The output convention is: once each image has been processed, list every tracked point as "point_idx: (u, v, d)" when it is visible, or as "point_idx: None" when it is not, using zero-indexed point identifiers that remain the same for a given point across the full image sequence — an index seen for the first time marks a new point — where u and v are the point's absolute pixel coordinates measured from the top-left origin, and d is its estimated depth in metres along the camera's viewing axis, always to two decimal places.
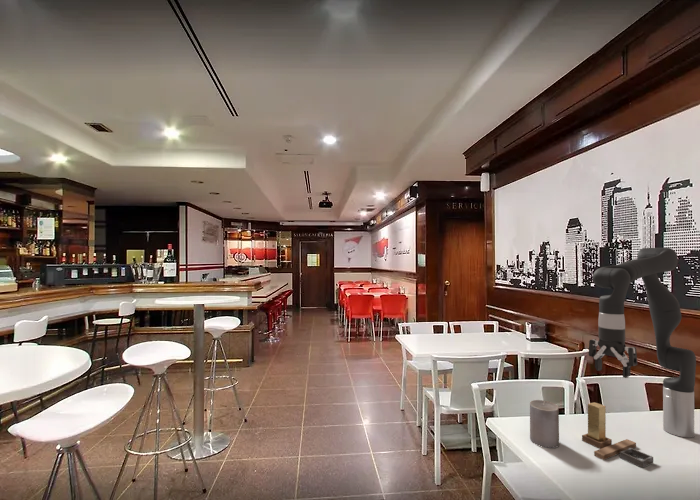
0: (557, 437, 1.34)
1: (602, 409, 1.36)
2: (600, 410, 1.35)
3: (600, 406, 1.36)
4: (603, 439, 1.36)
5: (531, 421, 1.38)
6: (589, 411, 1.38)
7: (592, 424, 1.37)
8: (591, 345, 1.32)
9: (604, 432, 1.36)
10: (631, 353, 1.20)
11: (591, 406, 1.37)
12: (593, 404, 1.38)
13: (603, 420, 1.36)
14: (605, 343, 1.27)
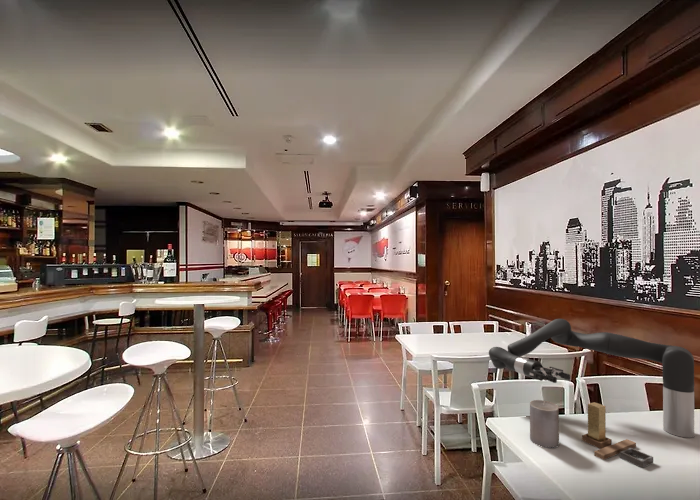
0: (557, 437, 1.34)
1: (602, 409, 1.36)
2: (600, 410, 1.35)
3: (600, 406, 1.36)
4: (603, 439, 1.36)
5: (531, 421, 1.38)
6: (589, 411, 1.38)
7: (592, 424, 1.37)
8: None
9: (604, 432, 1.36)
10: None
11: (591, 406, 1.37)
12: (593, 404, 1.38)
13: (603, 420, 1.36)
14: None
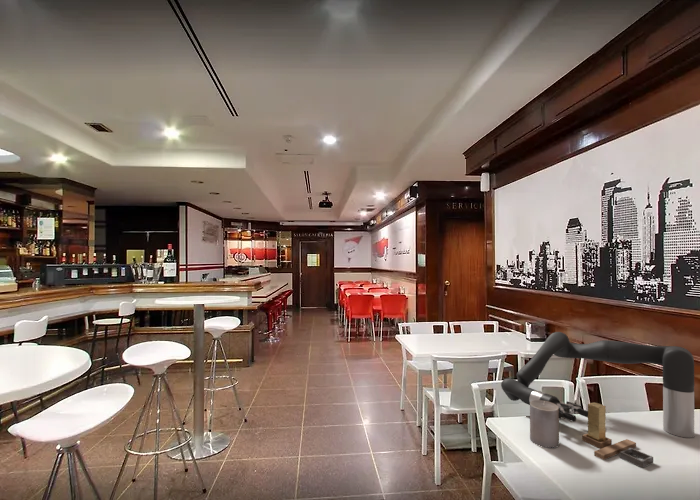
0: (557, 437, 1.34)
1: (602, 409, 1.36)
2: (600, 410, 1.35)
3: (600, 406, 1.36)
4: (603, 439, 1.36)
5: (531, 421, 1.38)
6: (589, 411, 1.38)
7: (592, 424, 1.37)
8: None
9: (604, 432, 1.36)
10: None
11: (591, 406, 1.37)
12: (593, 404, 1.38)
13: (603, 420, 1.36)
14: None
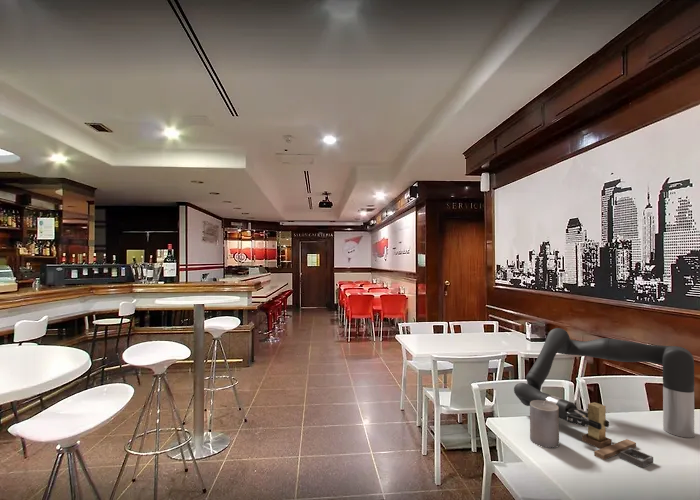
0: (557, 437, 1.34)
1: (602, 409, 1.36)
2: (600, 410, 1.35)
3: (600, 406, 1.36)
4: (603, 439, 1.36)
5: (531, 421, 1.38)
6: (589, 411, 1.38)
7: None
8: None
9: (604, 431, 1.36)
10: None
11: (591, 406, 1.37)
12: (593, 404, 1.38)
13: (603, 420, 1.36)
14: None
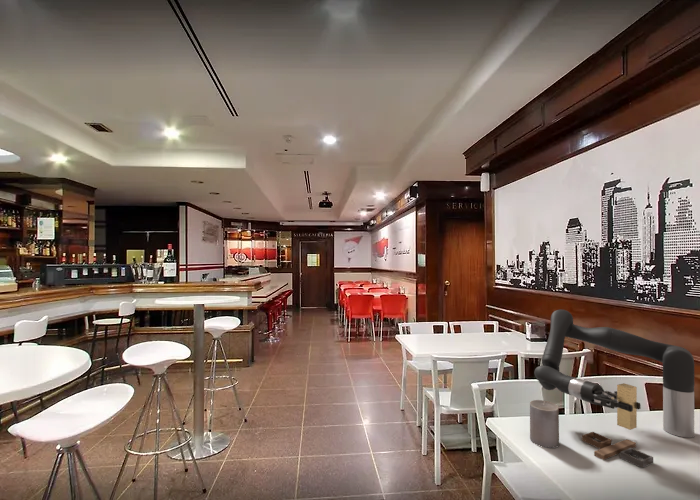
0: (557, 437, 1.34)
1: (633, 390, 1.27)
2: (631, 391, 1.26)
3: (631, 387, 1.27)
4: (634, 422, 1.27)
5: (531, 421, 1.38)
6: (619, 392, 1.29)
7: None
8: None
9: (635, 414, 1.27)
10: None
11: (621, 387, 1.28)
12: (623, 385, 1.29)
13: (634, 402, 1.27)
14: None
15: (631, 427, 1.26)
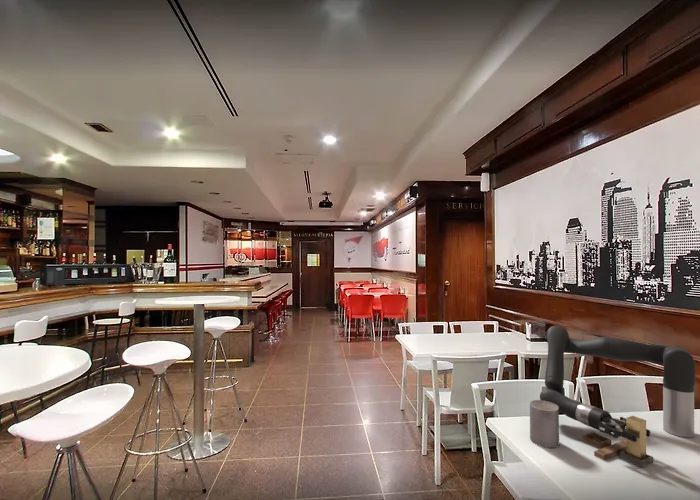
0: (557, 437, 1.34)
1: (643, 424, 1.24)
2: (641, 425, 1.24)
3: (640, 420, 1.25)
4: (644, 456, 1.24)
5: (531, 421, 1.38)
6: (628, 426, 1.26)
7: None
8: None
9: (644, 448, 1.25)
10: None
11: (630, 420, 1.26)
12: (632, 418, 1.26)
13: (643, 436, 1.24)
14: None
15: None
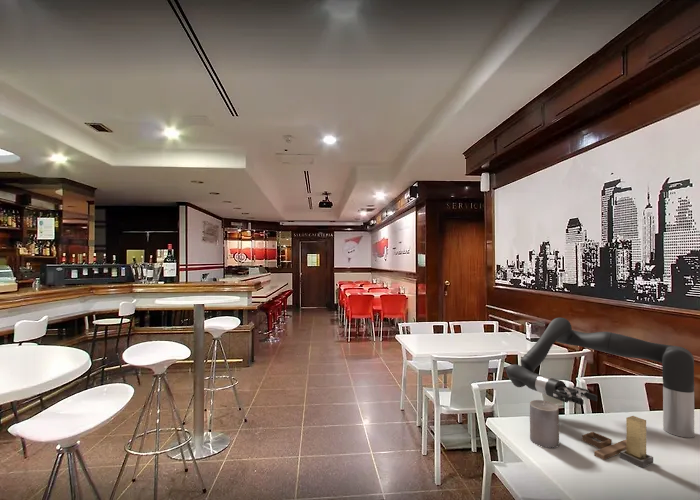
0: (557, 437, 1.34)
1: (643, 424, 1.24)
2: (641, 425, 1.24)
3: (640, 420, 1.25)
4: (644, 456, 1.24)
5: (531, 421, 1.38)
6: (628, 426, 1.26)
7: (632, 440, 1.25)
8: None
9: (644, 448, 1.25)
10: None
11: (630, 420, 1.26)
12: (632, 418, 1.26)
13: (643, 436, 1.24)
14: None
15: None
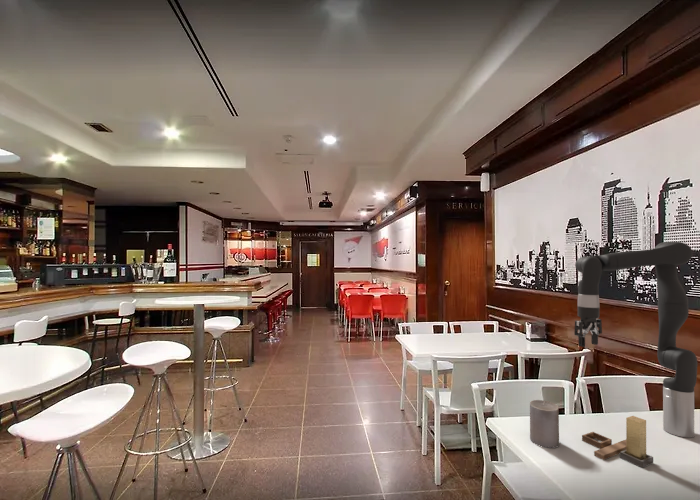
0: (557, 437, 1.34)
1: (643, 424, 1.24)
2: (641, 425, 1.24)
3: (640, 420, 1.25)
4: (644, 456, 1.24)
5: (531, 421, 1.38)
6: (628, 426, 1.26)
7: (632, 440, 1.25)
8: None
9: (644, 448, 1.25)
10: None
11: (630, 420, 1.26)
12: (632, 418, 1.26)
13: (643, 436, 1.24)
14: None
15: None
